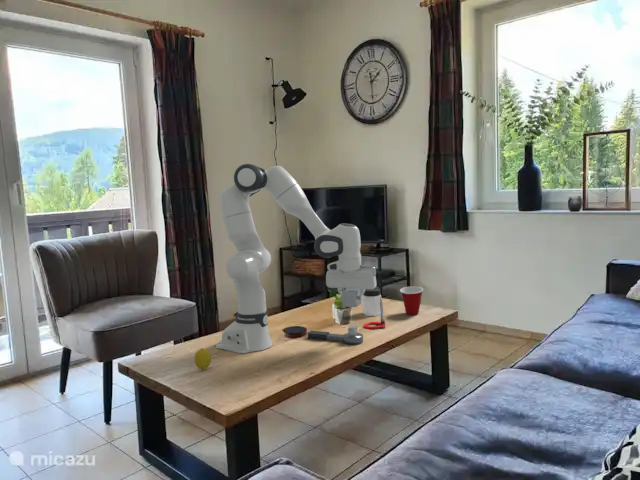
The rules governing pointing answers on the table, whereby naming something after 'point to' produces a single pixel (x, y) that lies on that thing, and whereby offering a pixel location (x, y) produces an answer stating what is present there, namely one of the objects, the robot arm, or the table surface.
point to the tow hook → (380, 324)
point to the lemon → (202, 359)
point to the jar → (371, 302)
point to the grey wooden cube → (350, 297)
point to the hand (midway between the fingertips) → (351, 299)
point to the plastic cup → (411, 299)
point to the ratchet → (339, 336)
